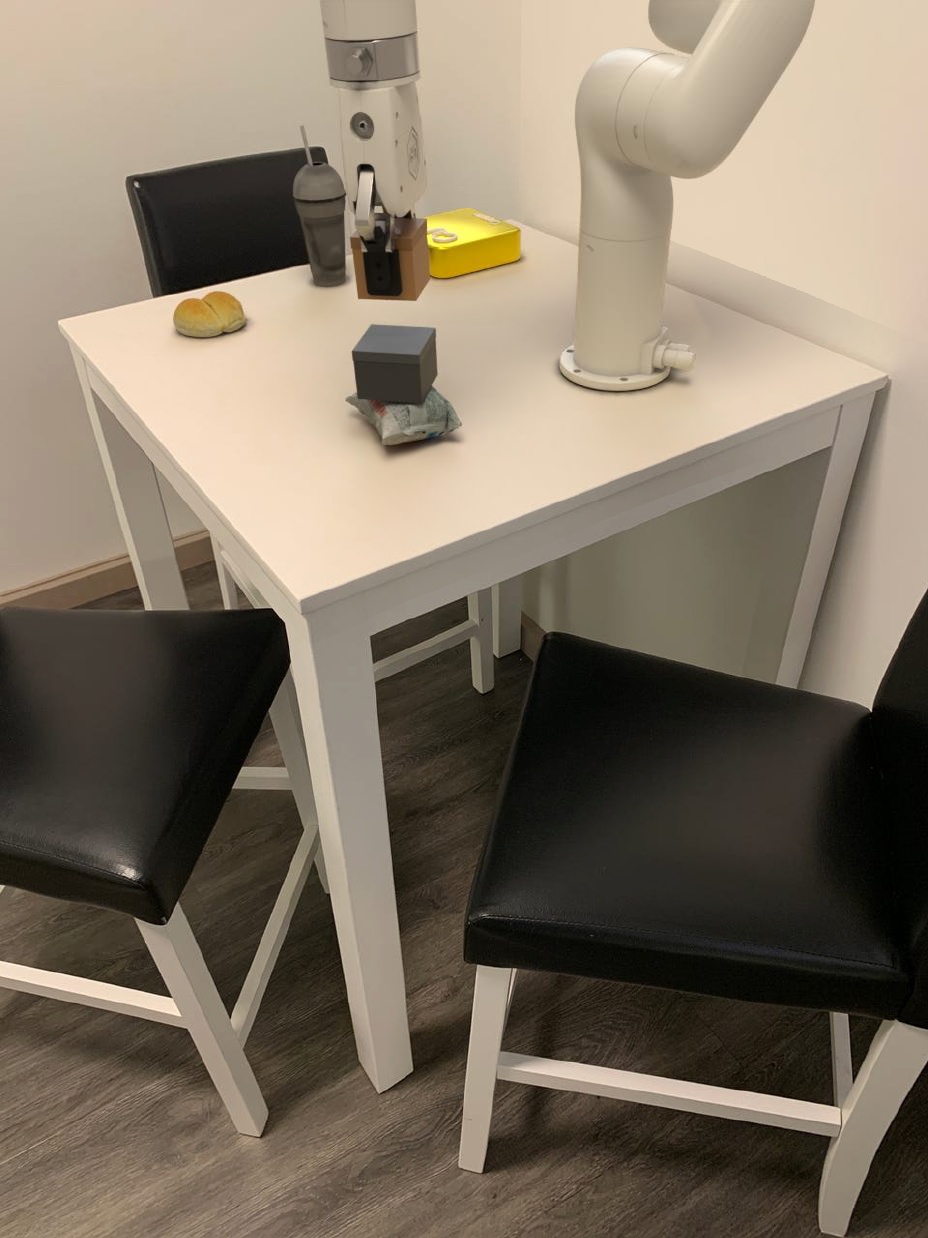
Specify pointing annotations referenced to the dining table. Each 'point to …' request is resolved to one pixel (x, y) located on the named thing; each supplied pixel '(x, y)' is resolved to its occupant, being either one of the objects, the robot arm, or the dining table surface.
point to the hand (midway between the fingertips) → (394, 279)
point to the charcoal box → (395, 363)
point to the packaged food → (409, 417)
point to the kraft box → (411, 255)
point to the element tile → (469, 242)
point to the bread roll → (209, 315)
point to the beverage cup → (322, 219)
